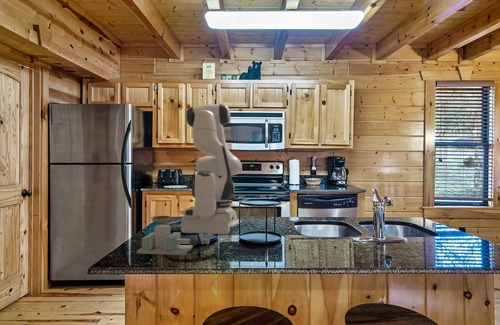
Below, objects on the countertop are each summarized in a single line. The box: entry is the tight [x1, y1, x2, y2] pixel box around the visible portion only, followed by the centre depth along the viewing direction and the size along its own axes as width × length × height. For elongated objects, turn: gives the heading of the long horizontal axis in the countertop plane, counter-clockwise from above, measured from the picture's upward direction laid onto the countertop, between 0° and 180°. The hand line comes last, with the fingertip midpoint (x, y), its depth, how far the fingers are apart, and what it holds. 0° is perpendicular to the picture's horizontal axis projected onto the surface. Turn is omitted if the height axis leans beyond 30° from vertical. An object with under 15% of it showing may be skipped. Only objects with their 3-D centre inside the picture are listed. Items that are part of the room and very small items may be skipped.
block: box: [155, 224, 172, 249], centre depth 136 cm, size 5×5×9 cm
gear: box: [143, 221, 163, 237], centre depth 155 cm, size 11×6×10 cm
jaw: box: [165, 231, 198, 251], centre depth 135 cm, size 12×10×5 cm
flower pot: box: [151, 215, 171, 225], centre depth 162 cm, size 9×9×9 cm
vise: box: [136, 232, 194, 256], centre depth 136 cm, size 20×12×6 cm, turn 84°
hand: (205, 243), depth 134 cm, fingers closed
